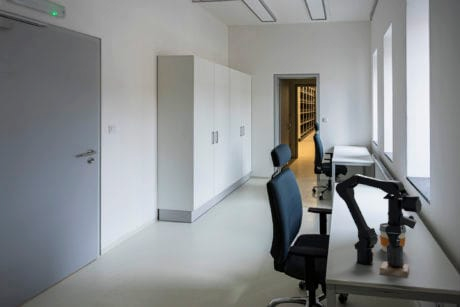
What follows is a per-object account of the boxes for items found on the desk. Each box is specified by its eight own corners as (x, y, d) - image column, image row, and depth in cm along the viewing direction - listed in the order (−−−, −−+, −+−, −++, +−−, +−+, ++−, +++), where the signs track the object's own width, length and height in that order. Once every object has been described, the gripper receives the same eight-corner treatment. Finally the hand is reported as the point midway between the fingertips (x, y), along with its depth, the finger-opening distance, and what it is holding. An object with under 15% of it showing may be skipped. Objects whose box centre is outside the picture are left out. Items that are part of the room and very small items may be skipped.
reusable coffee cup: (410, 258, 200) (410, 227, 199) (384, 258, 200) (384, 227, 199) (400, 251, 212) (400, 222, 212) (375, 251, 212) (375, 222, 212)
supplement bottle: (398, 261, 183) (397, 235, 182) (407, 267, 176) (406, 240, 175) (384, 263, 182) (383, 237, 181) (392, 269, 175) (391, 242, 174)
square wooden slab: (379, 274, 177) (379, 267, 177) (382, 267, 187) (382, 261, 187) (407, 278, 172) (407, 271, 172) (409, 271, 182) (409, 264, 182)
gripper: (414, 214, 167) (414, 252, 167) (416, 208, 183) (416, 242, 184) (385, 212, 172) (385, 249, 172) (389, 206, 188) (389, 240, 189)
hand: (394, 245), depth 179 cm, fingers open, 9 cm apart
